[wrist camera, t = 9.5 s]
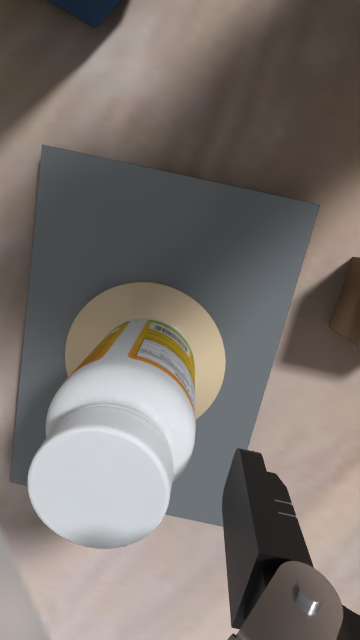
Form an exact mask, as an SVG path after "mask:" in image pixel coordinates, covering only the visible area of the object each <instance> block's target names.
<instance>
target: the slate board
mask: <svg viewBox="0 0 360 640" xmlns="http://www.w3.org/2000/svg"><path fill="white" fill-rule="evenodd" d="M319 207H320V205H318V204H314V203H309V202H304V201H300V200H295V199H291V198H286V197H281V196H277V195H272V194H268V193H263V192H258V191H254V190H249V189H244V188H240V187H235V186H231V185H226V184H221V183H217V182H212V181H208V180H203V179H198V178H194V177H189V176H185V175H180V174H175V173H171V172H166V171H162V170H157V169H152V168H148V167H143V166H138V165H134V164H129V163H125V162H120V161H115V160H111V159H106V158H102V157H97V156H92V155H88V154H83V153H79V152H74V151H69V150H65V149H60V148H56V147H51V146H46V145H42V152H41V162H40V173H39V183H38V194H37V204H36V215H35V225H34V236H33V246H32V257H31V267H30V278H29V288H28V299H27V309H26V320H25V330H24V341H23V351H22V362H21V372H20V383H19V393H18V404H17V414H16V425H15V435H14V446H13V456H12V467H11V477H10V482H13V483H17V484H22V485H27V486H28V484H27V481H28V472H29V467H30V465H31V462H32V459H33V457H34V456H35V454H36V452H37V451H38V449H39V448H40V446H41V445H42V443H43V442H44V441H45V439H46V418H47V413H48V409H49V406H50V404H51V402H52V400H53V398H54V396H55V394H56V393H57V391H58V390H59V389H60V387H61V386H62V385H63V383H64V382H65V381H66V379H67V378H68V377H69V376H70V375H71V374H72V372H74V371H75V369H76V368H77V367H78V366H79V365H80V364H81V363H82V362H83V360H85V358H86V357H87V356H88V355H89V354H90V353H91V352H92V351H93V350H94V349H95V348H96V346H97V345H98V344H99V343H100V342H101V341H102V340H103V339H104V337H105V336H106V335H107V334H108V333H109V332H110V331H111V330H113V329H114V328H115V327H117V326H118V325H120V324H122V323H124V322H126V321H129V320H132V319H137V318H152V319H157V320H160V321H163V322H165V323H167V324H169V325H171V326H173V327H174V328H175V329H177V330H178V331H179V332H180V333H181V334H182V335H183V336H184V338H185V339H186V340H187V342H188V344H189V346H190V348H191V350H192V353H193V356H194V363H195V417H196V431H195V442H194V448H193V452H192V455H191V457H190V460H189V462H188V464H187V466H186V468H185V469H184V471H183V472H182V473H181V475H180V476H179V477H178V478H177V479H176V480H175V481H174V482H173V483H172V487H171V493H170V500H169V505H168V508H167V511H166V513H165V514H166V515H170V516H175V517H180V518H185V519H190V520H194V521H199V522H204V523H209V524H213V525H218V526H223V516H222V497H223V491H224V486H225V483H226V480H227V476H228V473H229V470H230V467H231V463H232V460H233V457H234V453H235V451H236V449H237V448H240V449H245V450H247V448H248V445H249V442H250V438H251V435H252V432H253V428H254V425H255V422H256V418H257V415H258V412H259V408H260V405H261V401H262V398H263V395H264V391H265V388H266V385H267V381H268V378H269V375H270V371H271V368H272V365H273V361H274V358H275V354H276V351H277V348H278V344H279V341H280V338H281V334H282V331H283V328H284V324H285V321H286V318H287V314H288V311H289V308H290V304H291V301H292V297H293V294H294V291H295V287H296V284H297V281H298V277H299V274H300V271H301V267H302V264H303V261H304V257H305V254H306V250H307V247H308V244H309V240H310V237H311V234H312V230H313V227H314V224H315V220H316V217H317V214H318V210H319Z"/></svg>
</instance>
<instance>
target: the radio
mask: <svg viewBox="0 0 360 640" xmlns="http://www.w3.org/2000/svg"><path fill="white" fill-rule="evenodd" d="M47 1H49V2H51V3H53V4H54V5H56V6H58V7H60V8H61V9H63V10H65V11H66V12H68V13H70V14H72V15H73V16H75V17H77V18H79V19H80V20H82V21H84V22H86V23H87V24H89V25H91V26H93V27H94V28H97V27H98V26H99V24H100V23H101V22H102V21H103V20H104V19H105V18H106V17H107V15H108V14H109V13H110V12H111V11H112V10H113V9H114V8H115V6H116V5H117V4H118V3H119V2H120V1H121V0H47Z"/></svg>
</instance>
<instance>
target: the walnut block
mask: <svg viewBox="0 0 360 640" xmlns="http://www.w3.org/2000/svg"><path fill="white" fill-rule="evenodd" d="M329 327H330V328H332V329H333V330H335V331H336V332H338V333H339V334H341V335H343V336H344V337H346V338H347V339H349V340H350V341H352V342H353V343H355V344H356V345H358V346H359V347H360V258H358V257H353V258H352V261H351V264H350V267H349V270H348V272H347V275H346V278H345V281H344V284H343V287H342V290H341V293H340V296H339V299H338V302H337V305H336V308H335V310H334V313H333V316H332V319H331V322H330V325H329Z"/></svg>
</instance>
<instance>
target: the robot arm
mask: <svg viewBox="0 0 360 640" xmlns="http://www.w3.org/2000/svg"><path fill="white" fill-rule="evenodd" d="M291 503H292V502H291V499H290V496H289V493H288V490H287V488H286V486H285V485H284V484H283V482H282V481H281V480H280V478H279V477H278V476H277V475H276V474H275V473H271V472H267V471H266V468H265V464H264V460H263V457H262V454H261V453H258V452H254V451H249V450H245V449H240V448H237V449H236V451H235V453H234V457H233V460H232V463H231V467H230V470H229V473H228V476H227V480H226V483H225V486H224V491H223V497H222V516H223V528H224V540H225V553H226V565H227V577H228V590H229V602H230V614H231V626H232V628H236V629H240V630H239V632H238V633H237V634H236V635H235V634H232V635H231V636H230V637H229V638H228V640H360V615H358V614H356V613H354V612H352V611H351V610H349V609H348V608H346V607H345V606H343V605H342V603H341V601H340V598H339V596H338V594H337V592H336V590H335V589H334V587H333V586H332V585H331V583H330V582H329V581H328V580H327V579H326V578H325V577H324V576H323V575H322V574H321V573H320V572H319V571H317V570H316V569H314V567H313V564H312V561H311V558H310V555H309V552H308V549H307V546H306V543H305V540H304V537H303V534H302V532H301V529H300V526H299V523H298V520H297V518H296V514H295V511H294V508H293V505H291Z"/></svg>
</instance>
